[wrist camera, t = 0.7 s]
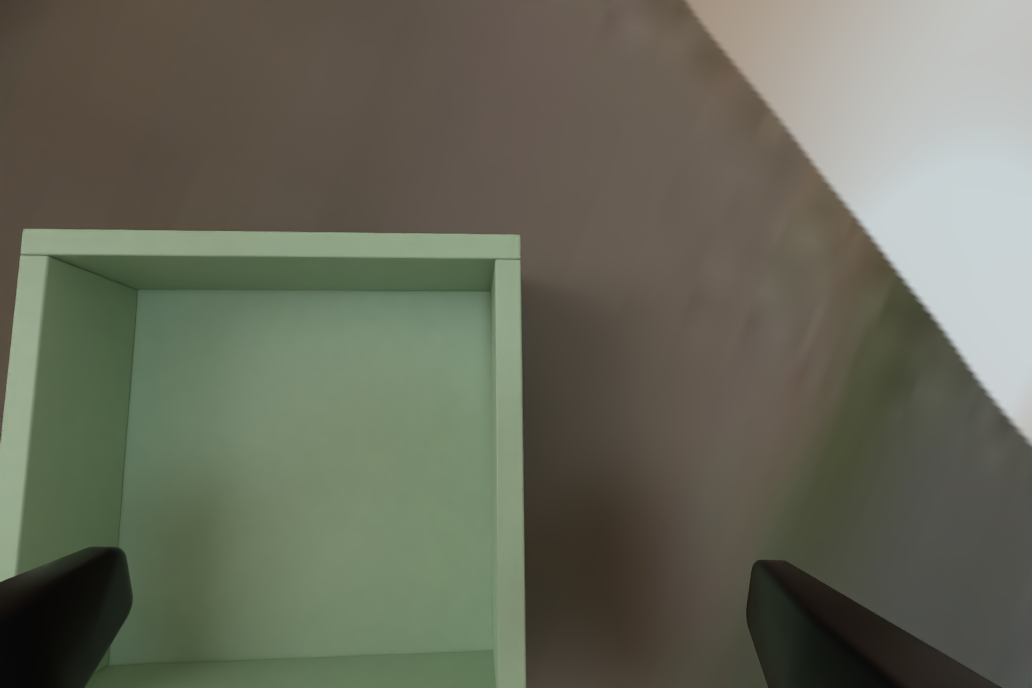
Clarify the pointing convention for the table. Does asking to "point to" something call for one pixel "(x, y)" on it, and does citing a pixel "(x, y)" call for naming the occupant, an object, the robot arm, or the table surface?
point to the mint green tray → (277, 451)
